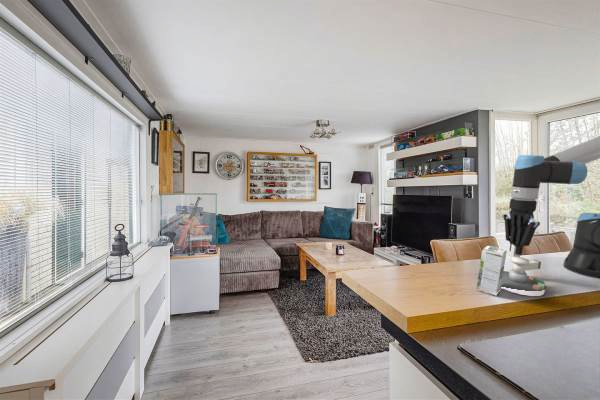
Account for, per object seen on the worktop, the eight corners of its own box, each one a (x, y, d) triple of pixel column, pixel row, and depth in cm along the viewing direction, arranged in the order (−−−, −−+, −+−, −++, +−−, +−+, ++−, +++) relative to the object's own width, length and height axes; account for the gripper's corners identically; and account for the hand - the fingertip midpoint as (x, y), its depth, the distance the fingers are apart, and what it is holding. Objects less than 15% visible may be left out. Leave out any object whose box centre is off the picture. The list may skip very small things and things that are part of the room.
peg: (520, 275, 93) (522, 262, 92) (506, 269, 97) (508, 257, 96) (544, 271, 96) (546, 259, 95) (529, 266, 100) (531, 254, 99)
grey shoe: (517, 275, 105) (519, 263, 104) (557, 295, 90) (560, 281, 89) (480, 276, 103) (481, 264, 102) (515, 297, 88) (517, 283, 87)
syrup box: (480, 285, 96) (485, 244, 94) (501, 291, 92) (507, 249, 90) (475, 290, 92) (481, 248, 90) (497, 297, 88) (503, 253, 86)
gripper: (499, 196, 106) (491, 255, 110) (530, 202, 93) (520, 269, 97) (517, 196, 106) (508, 255, 110) (551, 202, 94) (539, 268, 98)
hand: (514, 261), depth 104 cm, fingers closed
